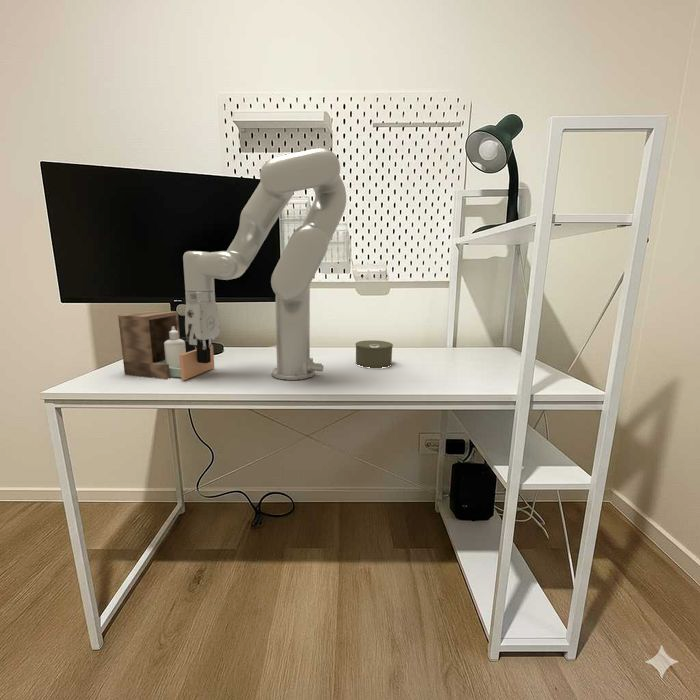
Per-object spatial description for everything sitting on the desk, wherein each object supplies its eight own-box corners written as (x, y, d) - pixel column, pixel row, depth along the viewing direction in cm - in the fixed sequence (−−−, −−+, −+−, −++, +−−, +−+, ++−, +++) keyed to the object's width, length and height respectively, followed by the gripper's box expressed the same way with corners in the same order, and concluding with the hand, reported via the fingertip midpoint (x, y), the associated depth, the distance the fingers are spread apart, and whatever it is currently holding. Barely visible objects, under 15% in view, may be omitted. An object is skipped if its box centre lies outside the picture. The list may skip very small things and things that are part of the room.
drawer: (214, 367, 119) (213, 345, 117) (184, 380, 106) (182, 355, 104) (174, 364, 122) (173, 342, 121) (141, 376, 109) (138, 351, 107)
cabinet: (196, 367, 120) (192, 312, 116) (167, 379, 108) (162, 317, 104) (157, 364, 123) (152, 310, 120) (124, 374, 111) (118, 315, 107)
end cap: (195, 360, 129) (194, 340, 127) (173, 360, 128) (172, 340, 127) (205, 353, 138) (204, 335, 137) (185, 353, 138) (183, 335, 137)
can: (390, 360, 133) (391, 340, 131) (393, 369, 121) (394, 348, 120) (355, 359, 133) (355, 340, 131) (354, 369, 121) (355, 347, 120)
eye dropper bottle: (182, 369, 112) (179, 328, 109) (163, 369, 112) (159, 327, 109) (189, 365, 116) (186, 325, 113) (170, 365, 116) (167, 325, 114)
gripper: (195, 300, 99) (199, 370, 103) (227, 296, 113) (230, 357, 117) (170, 299, 101) (175, 367, 105) (204, 295, 115) (208, 355, 119)
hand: (204, 362), depth 111 cm, fingers closed
